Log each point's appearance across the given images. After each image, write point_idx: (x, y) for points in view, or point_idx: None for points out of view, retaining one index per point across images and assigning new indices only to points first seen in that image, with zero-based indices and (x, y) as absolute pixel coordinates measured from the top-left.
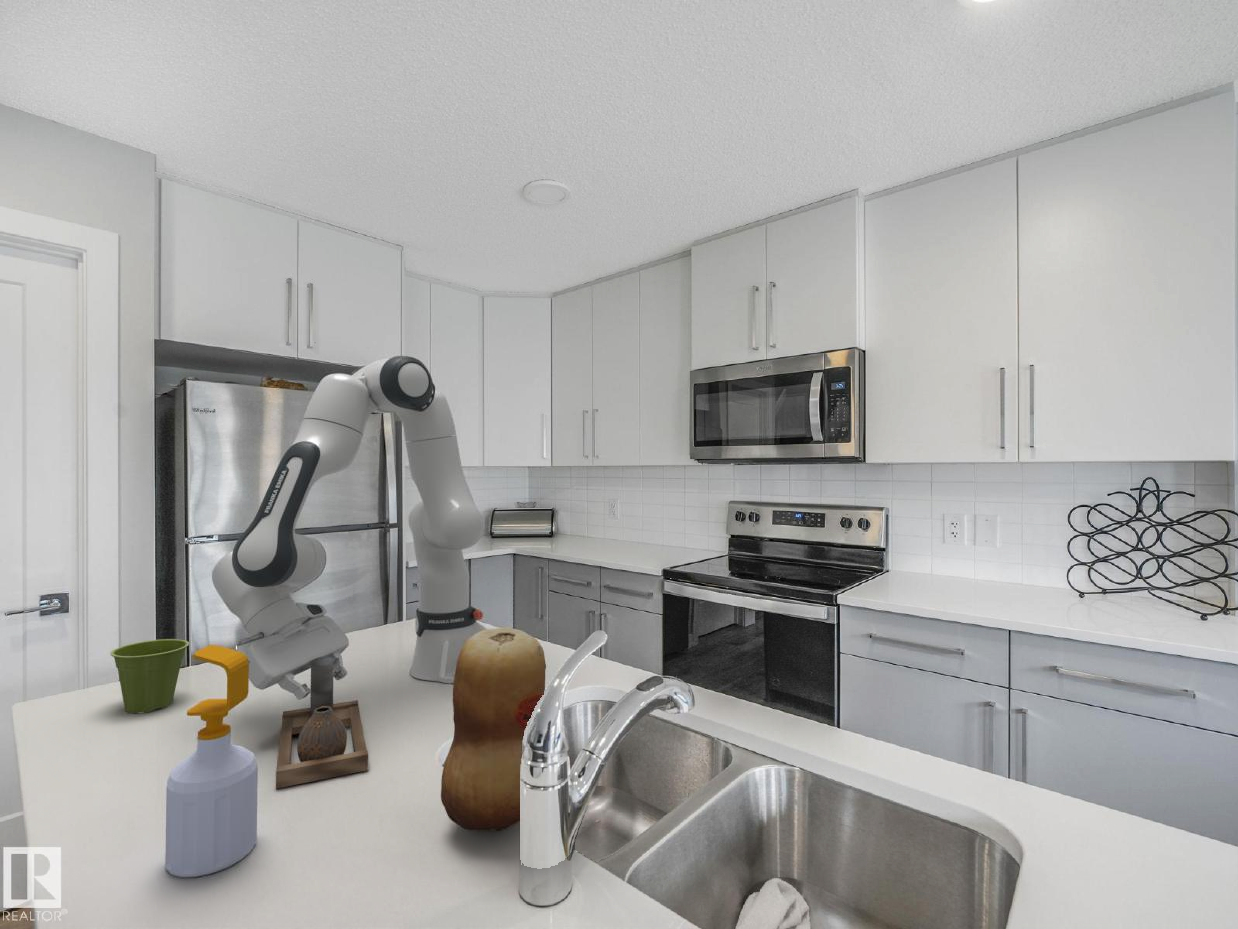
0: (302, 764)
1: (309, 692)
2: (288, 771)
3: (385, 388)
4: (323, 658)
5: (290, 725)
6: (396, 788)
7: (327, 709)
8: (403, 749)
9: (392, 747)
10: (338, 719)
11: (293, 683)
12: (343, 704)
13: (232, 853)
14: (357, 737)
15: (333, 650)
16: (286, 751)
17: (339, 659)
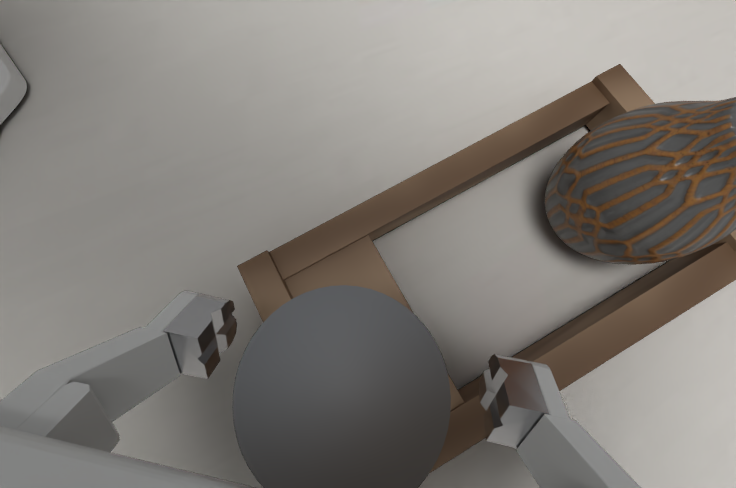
0: None
1: (501, 356)
2: None
3: None
4: (295, 408)
5: (459, 414)
6: (639, 15)
7: (704, 137)
8: (469, 63)
9: (462, 90)
10: (678, 103)
11: (615, 464)
12: (279, 300)
13: None
14: (512, 143)
15: (16, 441)
16: (643, 307)
17: (93, 365)
